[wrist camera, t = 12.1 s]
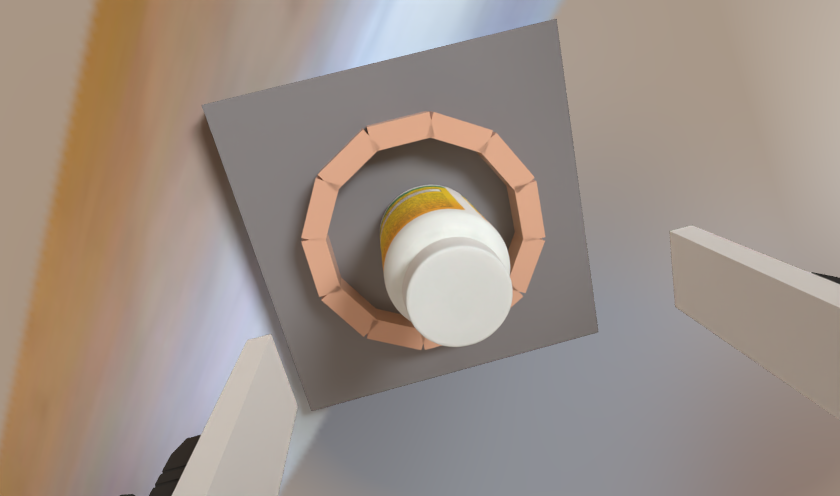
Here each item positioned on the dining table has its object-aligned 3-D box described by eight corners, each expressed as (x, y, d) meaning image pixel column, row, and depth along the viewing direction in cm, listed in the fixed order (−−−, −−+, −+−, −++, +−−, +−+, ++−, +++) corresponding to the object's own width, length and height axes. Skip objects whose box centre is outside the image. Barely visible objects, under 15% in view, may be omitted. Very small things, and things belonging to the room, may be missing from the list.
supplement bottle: (492, 208, 27) (560, 264, 18) (448, 291, 28) (490, 384, 19) (404, 165, 26) (429, 202, 17) (361, 254, 27) (363, 334, 18)
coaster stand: (545, 23, 26) (568, 13, 23) (587, 321, 32) (610, 343, 29) (210, 104, 25) (191, 105, 22) (313, 396, 31) (309, 427, 28)
